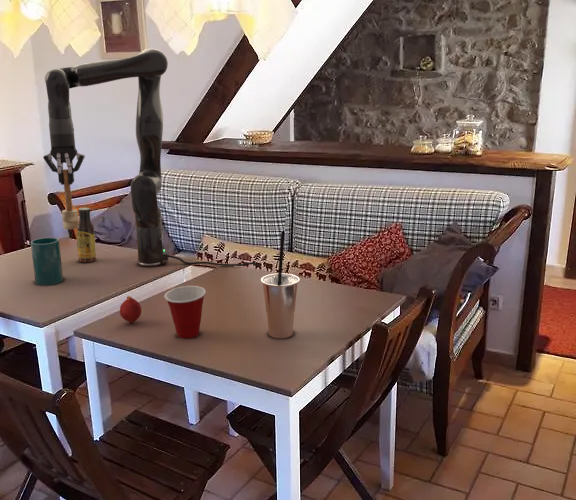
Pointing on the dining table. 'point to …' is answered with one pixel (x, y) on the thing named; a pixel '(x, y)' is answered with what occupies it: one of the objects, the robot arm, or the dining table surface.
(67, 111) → the robot arm
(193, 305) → the plastic cup
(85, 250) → the sauce bottle
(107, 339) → the dining table surface
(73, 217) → the wooden peg with cap
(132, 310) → the onion
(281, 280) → the metal cup with straw
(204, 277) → the dining table surface
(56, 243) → the teal cylindrical container
